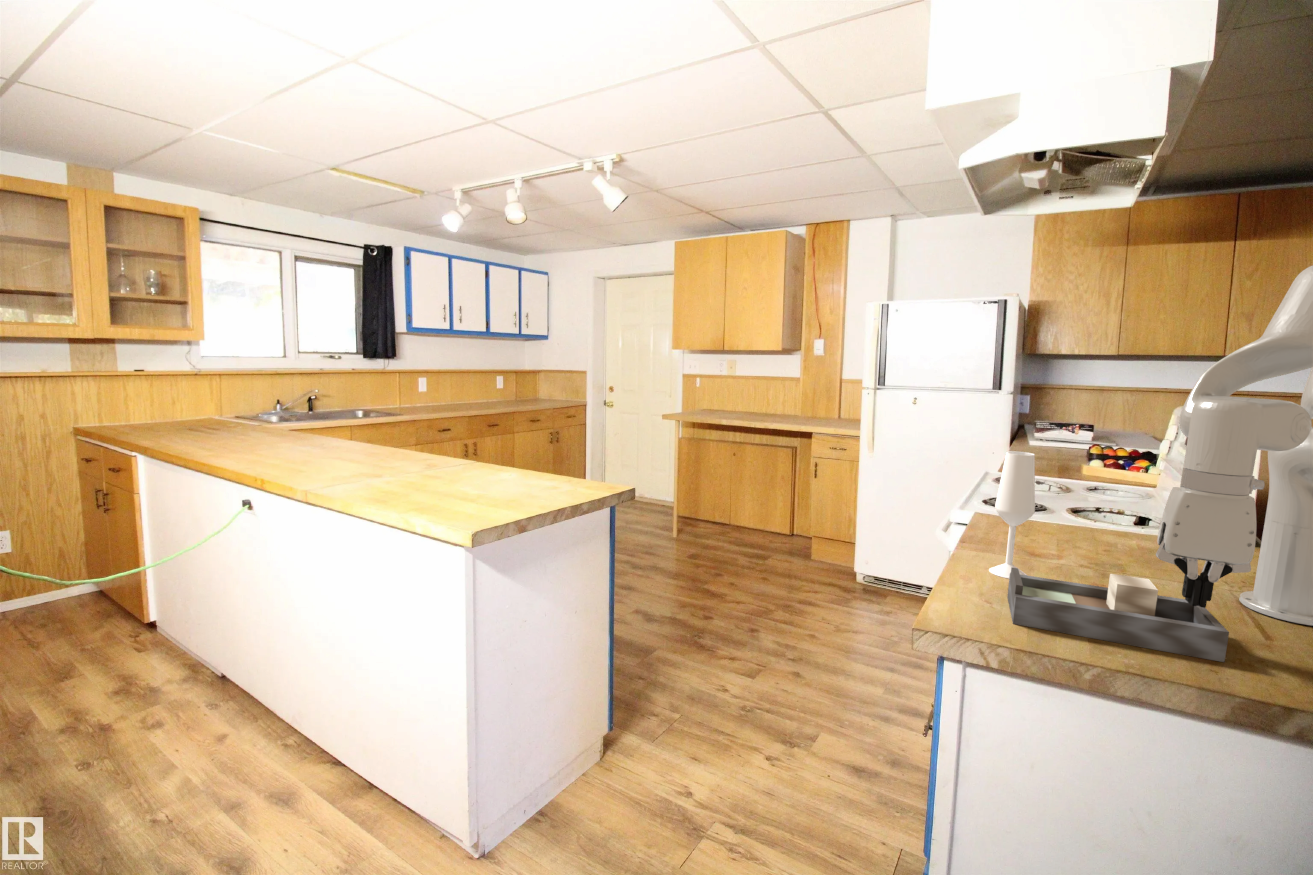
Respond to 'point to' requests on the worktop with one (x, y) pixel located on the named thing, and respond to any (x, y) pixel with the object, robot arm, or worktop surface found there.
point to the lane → (1115, 617)
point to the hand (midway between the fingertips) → (1195, 603)
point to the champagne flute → (1015, 500)
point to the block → (1132, 595)
